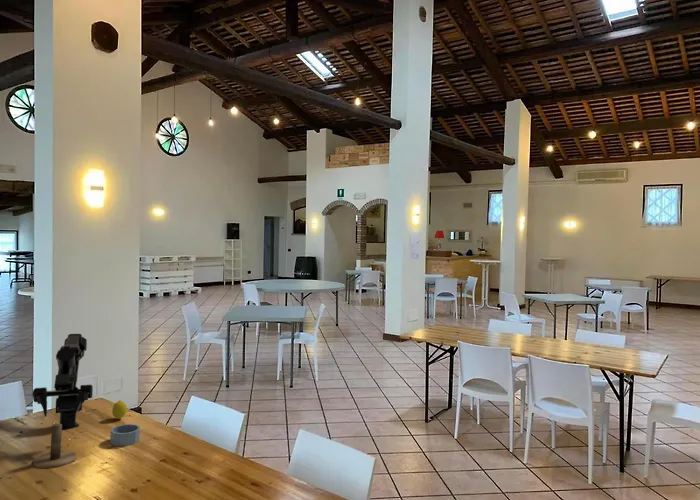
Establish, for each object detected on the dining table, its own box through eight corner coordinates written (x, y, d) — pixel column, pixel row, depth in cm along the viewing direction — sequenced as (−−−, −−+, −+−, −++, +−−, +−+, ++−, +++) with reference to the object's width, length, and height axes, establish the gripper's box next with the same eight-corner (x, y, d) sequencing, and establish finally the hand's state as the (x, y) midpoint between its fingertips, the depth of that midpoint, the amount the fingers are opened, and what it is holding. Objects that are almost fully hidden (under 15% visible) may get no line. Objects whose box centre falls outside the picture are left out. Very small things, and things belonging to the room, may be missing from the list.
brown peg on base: (27, 460, 160) (29, 425, 160) (67, 449, 170) (69, 416, 170) (41, 472, 152) (43, 434, 153) (82, 460, 162) (84, 425, 162)
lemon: (128, 417, 204) (129, 399, 204) (121, 421, 199) (122, 402, 199) (116, 416, 205) (117, 398, 205) (109, 420, 199) (110, 401, 199)
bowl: (105, 440, 179) (106, 428, 179) (131, 433, 187) (132, 422, 187) (118, 448, 173) (118, 435, 173) (144, 440, 181) (145, 428, 181)
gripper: (34, 365, 169) (26, 405, 159) (93, 363, 177) (89, 401, 167) (37, 382, 176) (30, 421, 166) (94, 378, 184) (90, 416, 174)
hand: (60, 414), depth 168 cm, fingers open, 9 cm apart
